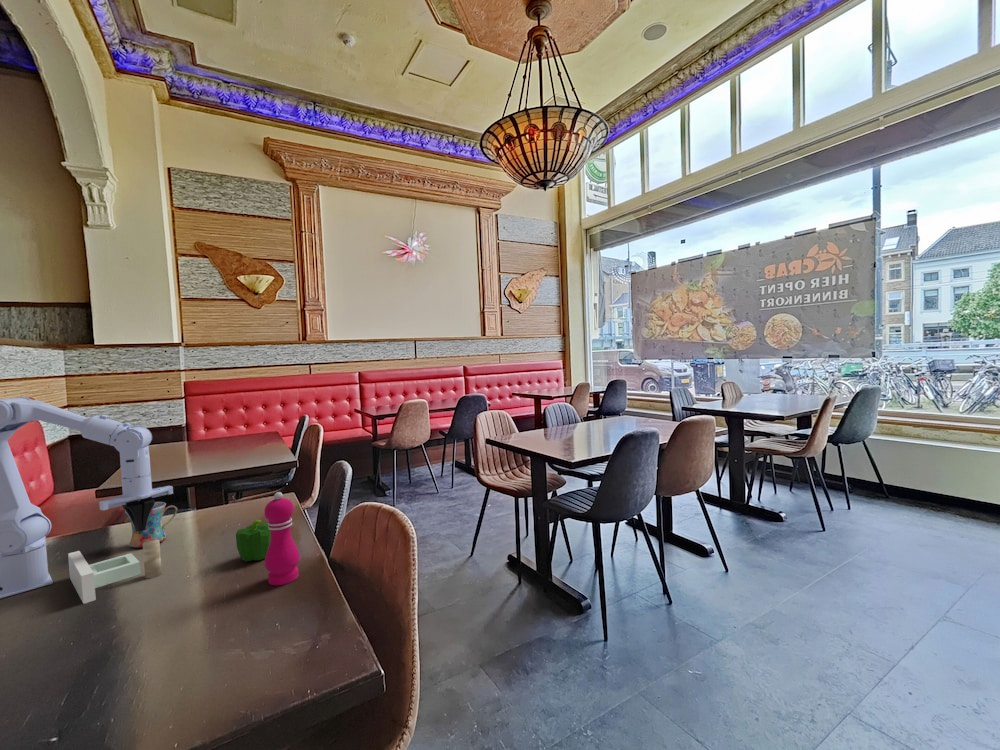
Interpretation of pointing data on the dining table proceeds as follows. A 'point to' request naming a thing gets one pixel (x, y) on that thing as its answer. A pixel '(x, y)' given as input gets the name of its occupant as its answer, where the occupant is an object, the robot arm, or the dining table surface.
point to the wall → (82, 577)
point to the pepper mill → (281, 542)
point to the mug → (151, 526)
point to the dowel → (152, 558)
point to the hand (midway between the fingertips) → (140, 530)
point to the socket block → (115, 569)
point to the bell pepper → (253, 541)
